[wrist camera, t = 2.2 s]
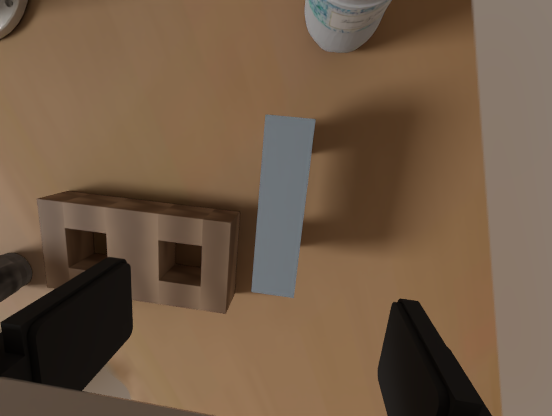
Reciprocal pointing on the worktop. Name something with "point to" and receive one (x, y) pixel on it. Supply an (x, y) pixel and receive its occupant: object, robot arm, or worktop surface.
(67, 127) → the worktop surface
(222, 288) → the brown rectangular block
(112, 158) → the worktop surface
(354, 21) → the bottle
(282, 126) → the grey block
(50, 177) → the worktop surface
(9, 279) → the beverage cup
